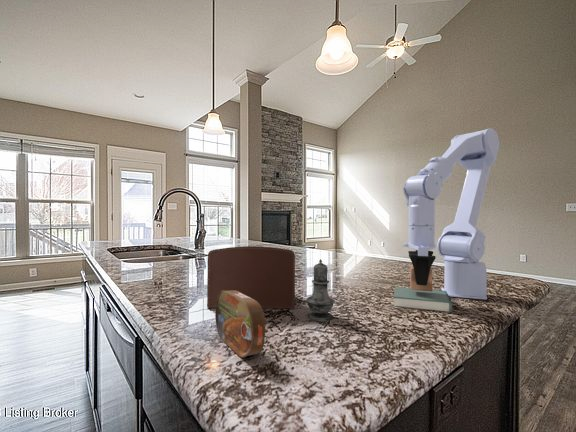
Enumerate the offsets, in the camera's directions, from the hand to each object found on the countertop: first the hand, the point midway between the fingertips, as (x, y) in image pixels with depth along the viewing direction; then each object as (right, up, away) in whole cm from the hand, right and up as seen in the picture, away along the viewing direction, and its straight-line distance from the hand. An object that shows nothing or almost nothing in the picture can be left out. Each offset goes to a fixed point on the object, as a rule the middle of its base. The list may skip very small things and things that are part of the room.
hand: (420, 282), depth 74 cm
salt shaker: (-25, -5, -10) cm, 27 cm away
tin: (-40, -6, -23) cm, 47 cm away
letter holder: (-40, -5, 0) cm, 41 cm away
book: (0, -5, 0) cm, 5 cm away
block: (0, -1, 0) cm, 1 cm away
